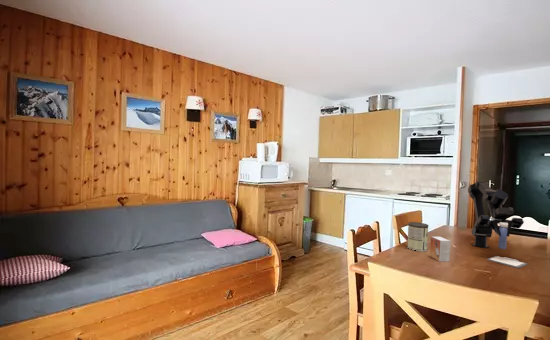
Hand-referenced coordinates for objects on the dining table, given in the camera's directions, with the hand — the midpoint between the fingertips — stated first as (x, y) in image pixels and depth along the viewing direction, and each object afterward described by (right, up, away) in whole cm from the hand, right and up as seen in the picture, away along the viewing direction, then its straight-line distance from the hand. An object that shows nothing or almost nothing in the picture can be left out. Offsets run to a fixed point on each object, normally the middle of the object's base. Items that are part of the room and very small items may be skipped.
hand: (504, 235), depth 150 cm
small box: (-31, -12, +2) cm, 34 cm away
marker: (0, -7, +2) cm, 7 cm away
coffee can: (-35, -12, +19) cm, 41 cm away
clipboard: (+2, -13, 0) cm, 13 cm away
